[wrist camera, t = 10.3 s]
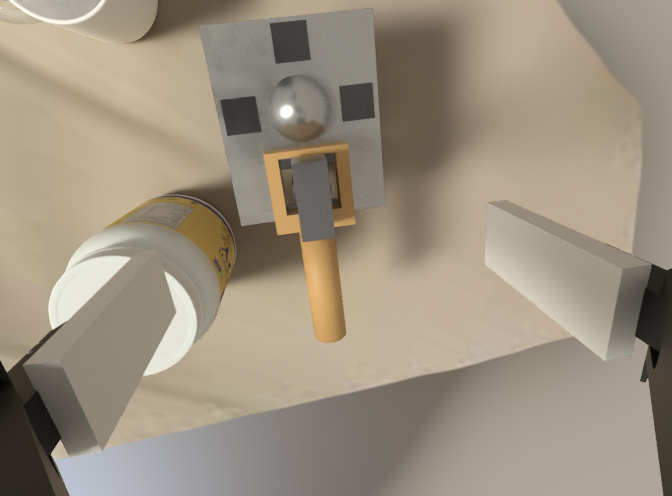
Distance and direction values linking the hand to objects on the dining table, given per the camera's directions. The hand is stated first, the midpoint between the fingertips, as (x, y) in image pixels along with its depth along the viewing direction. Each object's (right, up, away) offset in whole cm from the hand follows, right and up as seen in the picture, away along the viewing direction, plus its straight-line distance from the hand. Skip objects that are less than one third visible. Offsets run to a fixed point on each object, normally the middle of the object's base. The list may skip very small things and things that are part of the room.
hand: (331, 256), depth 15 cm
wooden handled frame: (-2, +1, +21) cm, 21 cm away
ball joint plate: (-4, +14, +25) cm, 29 cm away
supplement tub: (-17, +1, +28) cm, 33 cm away
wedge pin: (-3, +10, +26) cm, 28 cm away
